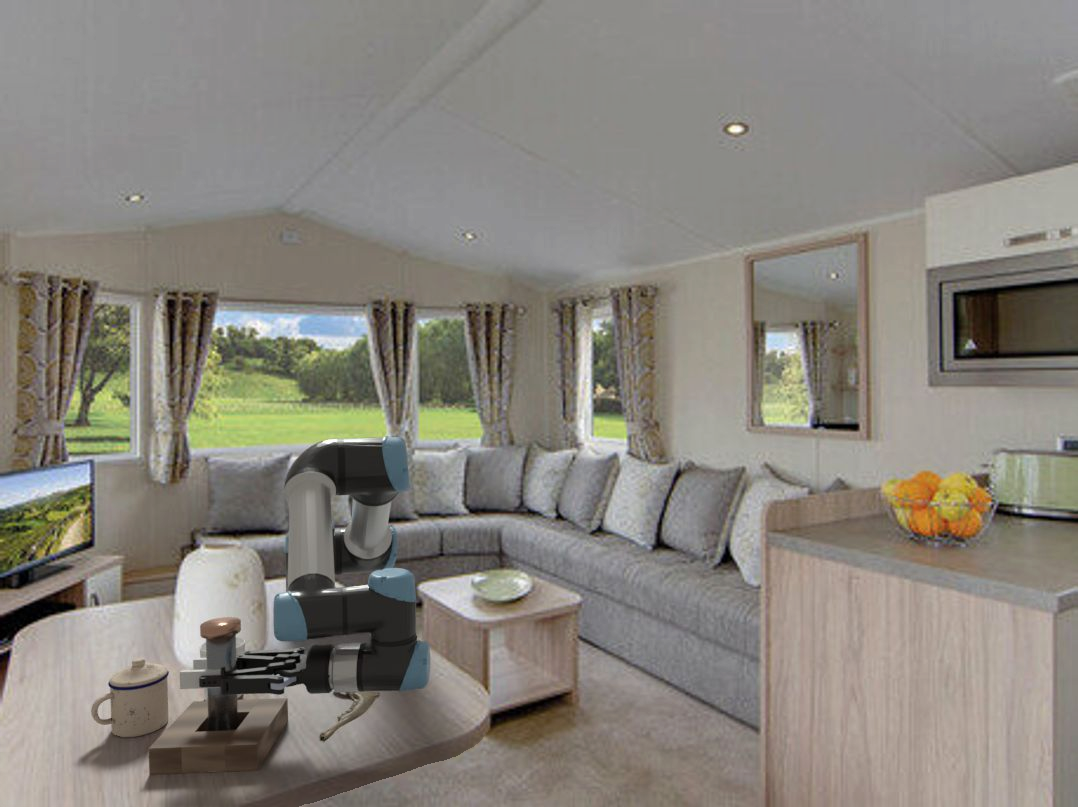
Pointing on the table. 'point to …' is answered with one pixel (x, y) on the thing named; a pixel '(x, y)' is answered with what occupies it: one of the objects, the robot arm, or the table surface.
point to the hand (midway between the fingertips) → (188, 673)
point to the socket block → (219, 739)
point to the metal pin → (218, 656)
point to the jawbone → (353, 710)
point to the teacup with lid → (136, 699)
